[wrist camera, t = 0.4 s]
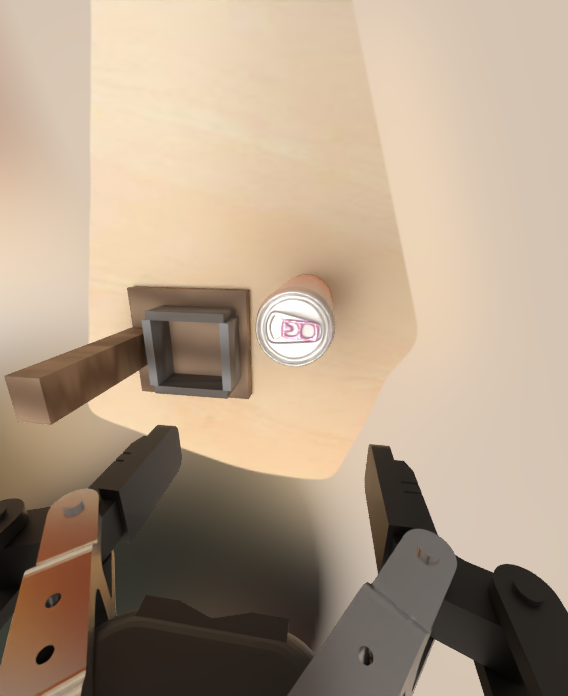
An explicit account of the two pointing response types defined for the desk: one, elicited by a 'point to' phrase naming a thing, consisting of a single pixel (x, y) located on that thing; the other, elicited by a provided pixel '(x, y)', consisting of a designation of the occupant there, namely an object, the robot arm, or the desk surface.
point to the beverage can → (297, 321)
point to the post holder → (148, 354)
